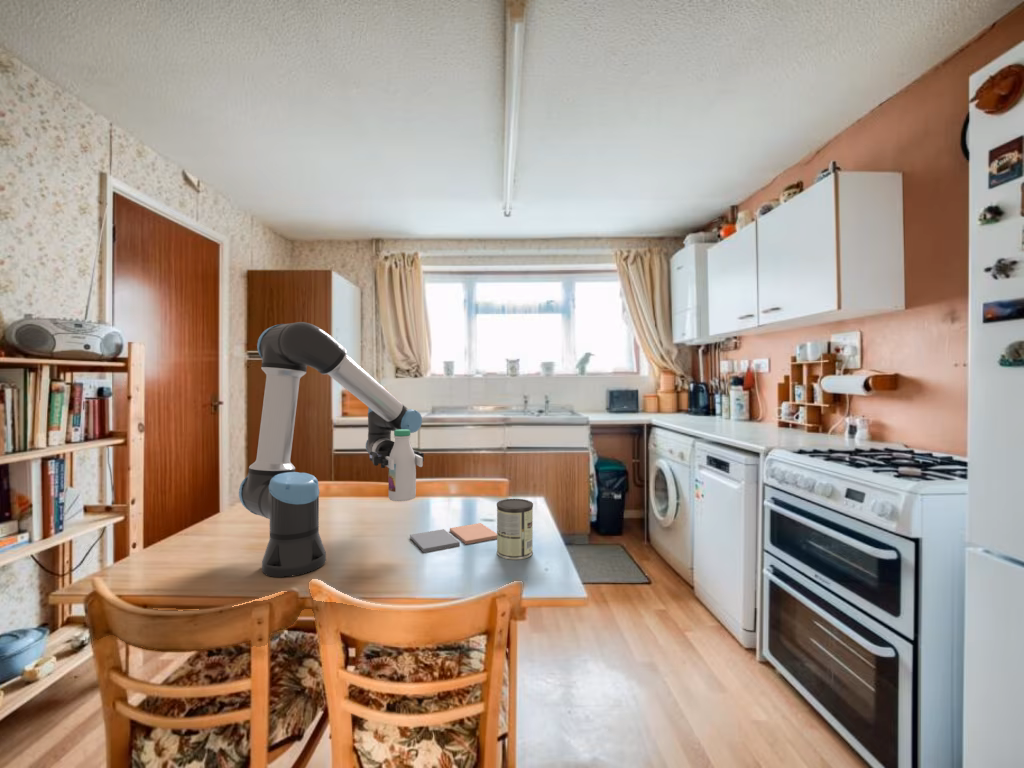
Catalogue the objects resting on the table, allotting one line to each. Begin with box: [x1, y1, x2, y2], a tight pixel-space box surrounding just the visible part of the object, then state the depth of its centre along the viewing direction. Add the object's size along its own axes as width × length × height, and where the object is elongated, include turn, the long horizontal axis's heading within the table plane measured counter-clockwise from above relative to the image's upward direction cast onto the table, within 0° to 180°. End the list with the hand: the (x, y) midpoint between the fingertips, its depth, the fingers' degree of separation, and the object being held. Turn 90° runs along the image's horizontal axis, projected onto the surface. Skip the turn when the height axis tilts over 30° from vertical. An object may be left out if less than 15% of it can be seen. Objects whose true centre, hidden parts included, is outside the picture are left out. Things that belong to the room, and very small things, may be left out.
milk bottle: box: [388, 429, 417, 502], centre depth 133 cm, size 8×8×20 cm
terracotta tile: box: [449, 522, 497, 545], centre depth 144 cm, size 11×13×1 cm
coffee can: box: [496, 498, 534, 561], centre depth 130 cm, size 10×10×14 cm
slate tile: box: [409, 528, 461, 553], centre depth 138 cm, size 11×13×1 cm
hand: (407, 463), depth 129 cm, fingers closed on milk bottle, 7 cm apart
